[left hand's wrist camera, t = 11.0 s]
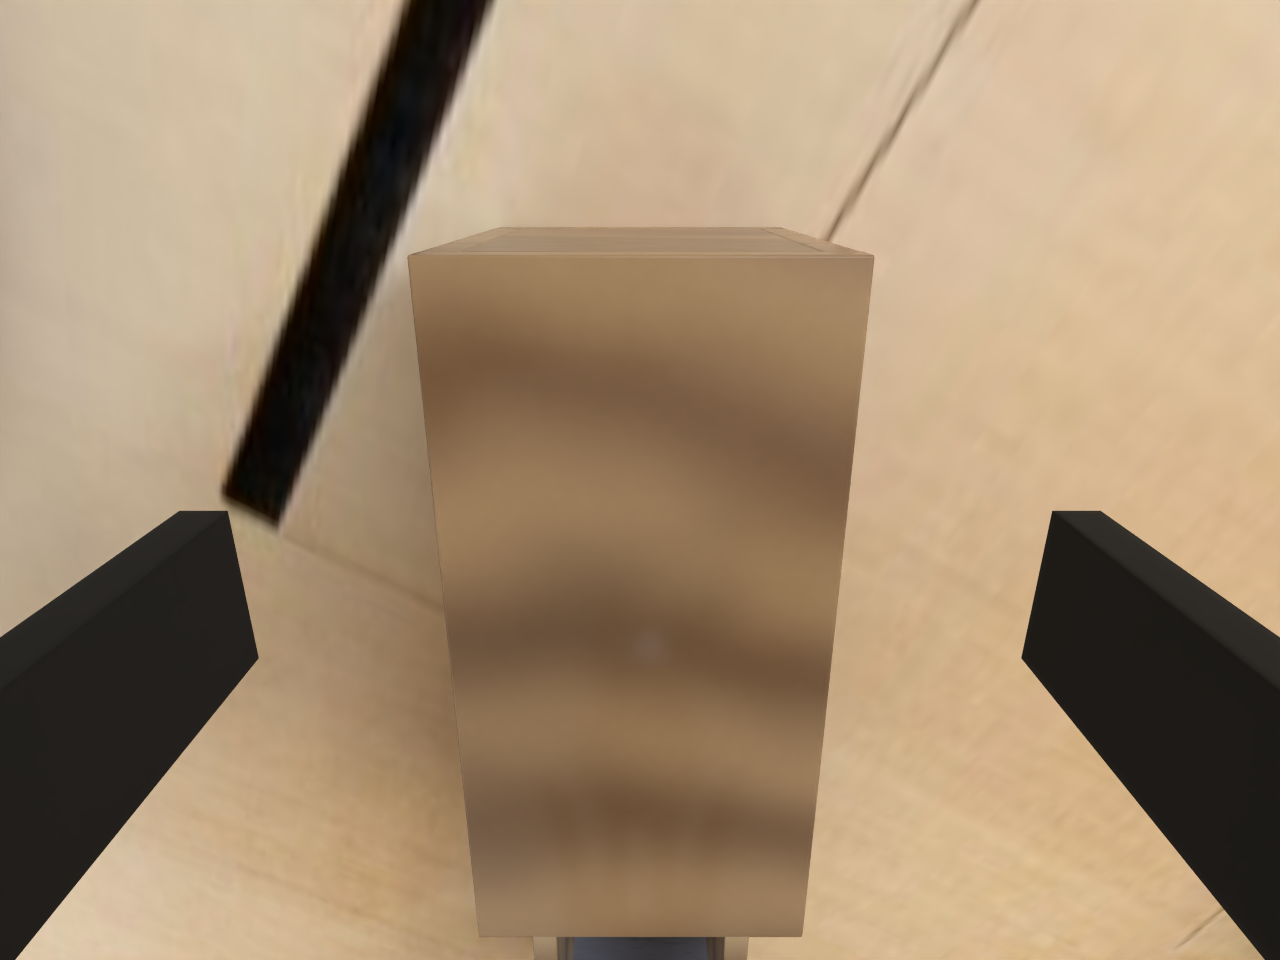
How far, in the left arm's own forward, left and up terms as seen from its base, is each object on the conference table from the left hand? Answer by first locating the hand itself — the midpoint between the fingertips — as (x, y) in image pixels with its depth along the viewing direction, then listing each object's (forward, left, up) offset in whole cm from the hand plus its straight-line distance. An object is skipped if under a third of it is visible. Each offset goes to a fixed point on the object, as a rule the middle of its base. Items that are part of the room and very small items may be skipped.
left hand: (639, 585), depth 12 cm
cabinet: (+5, -2, -17) cm, 18 cm away
